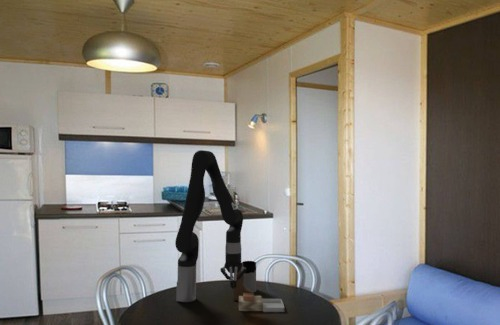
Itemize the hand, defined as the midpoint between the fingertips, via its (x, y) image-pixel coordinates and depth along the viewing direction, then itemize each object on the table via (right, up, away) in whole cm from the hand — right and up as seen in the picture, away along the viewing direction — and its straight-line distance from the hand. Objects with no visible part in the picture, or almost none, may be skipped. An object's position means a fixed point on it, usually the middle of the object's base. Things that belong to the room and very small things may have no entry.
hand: (233, 288), depth 182 cm
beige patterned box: (+8, -9, 0) cm, 12 cm away
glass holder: (+4, -10, +25) cm, 27 cm away
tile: (+7, -5, 0) cm, 9 cm away
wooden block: (+4, -10, +11) cm, 15 cm away
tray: (+18, -9, +1) cm, 21 cm away
